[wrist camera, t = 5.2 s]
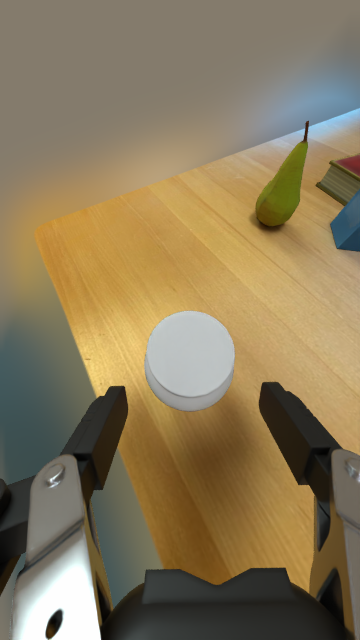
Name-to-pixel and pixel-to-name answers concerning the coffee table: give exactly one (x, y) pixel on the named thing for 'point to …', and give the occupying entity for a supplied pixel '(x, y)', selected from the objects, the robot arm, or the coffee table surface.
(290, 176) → the fruit
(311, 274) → the coffee table surface
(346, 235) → the perfume bottle
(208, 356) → the pill bottle
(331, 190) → the hardcover book
